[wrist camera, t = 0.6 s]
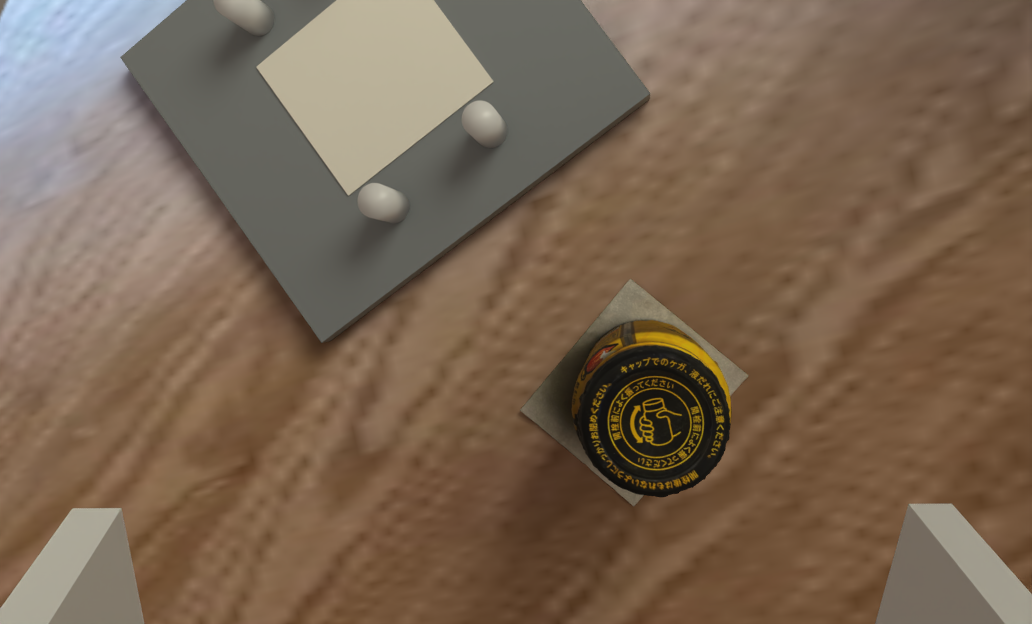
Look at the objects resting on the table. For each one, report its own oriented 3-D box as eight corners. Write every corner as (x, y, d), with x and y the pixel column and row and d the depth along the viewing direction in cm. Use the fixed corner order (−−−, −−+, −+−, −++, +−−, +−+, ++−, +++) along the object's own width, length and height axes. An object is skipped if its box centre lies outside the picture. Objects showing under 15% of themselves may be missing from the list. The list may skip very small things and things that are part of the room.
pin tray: (432, -192, 40) (409, -247, 36) (649, 99, 39) (652, 77, 35) (134, 63, 42) (80, 39, 38) (330, 340, 41) (296, 347, 37)
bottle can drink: (748, 374, 39) (800, 415, 27) (633, 505, 40) (635, 600, 28) (630, 278, 39) (630, 276, 27) (520, 409, 40) (474, 461, 28)
